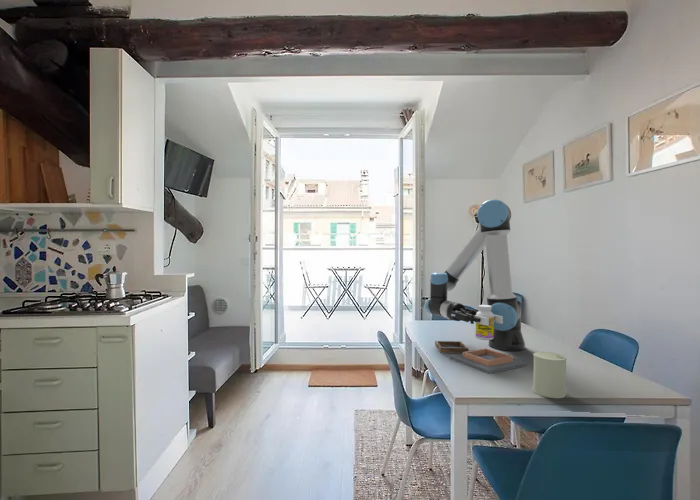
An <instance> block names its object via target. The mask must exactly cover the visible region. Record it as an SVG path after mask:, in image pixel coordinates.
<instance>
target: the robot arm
mask: <svg viewBox="0 0 700 500" xmlns="http://www.w3.org/2000/svg"><path fill="white" fill-rule="evenodd" d="M476 216H477V220H478V222H479V223H478V228H477V229H476V230H475V232H474V233H473V235H471V237H470V239H469V240H468V241H467V242H466V244H465V245H464V246H463V247H462V249H461V250H460V252H459V253H458V254H457V256H455V257H454V259H453V260H452V262H451V263H450V265H448V267H447V268H446V269H445V271H444V272H432V273H431V274H430V285H429V286H430V288H429V289H430V290H429V291H430V295H429V298H428V299H426V302H425V304H424V307H425V310H426V312H427V313H428V314H431V315H433V316H438V317H441V318H445V319H447V320H452V321H456V322H461V321H463V322H466V323H470V324H471V325H474V324H476V323H479V324H483V325H487V326H488V325H489V318H486V317H482V316H477V315H476V313H477V312H478V311H479V309H476V308H474V309H470V308H468V307H467V308H466V307H465V306H464V304H463V303H460V302H455V301H450V300H448V292H450V291H452V290H453V289H454V288H455V287H456V286H457V283H458V281H460V279H461V278H462V276H463V275H464V274H465V273H466V272H467V270H468V269H469V268H470V266H471V265H472V264H473V263H474V261H475V260H476V259H477V258H478V257H479V255H480V254H481V252H482V251H484V249H485V248H486V251H485V253H486V263H487V273H488V274H487V275H488V285H489V294H488V295H487V297H486V305H490V306H492V309H491V312H492V313H493V314H494V338H493V339H492V340H488V346H490V347H491V348H493V349H496V350H497V349H498V350H501V351H510V352H519V351H523V350H525V349H526V342H525V339H524V336H523V332H522V304H523V302H522V298H521V296H519V295H517V294H516V295H515V294H514V293H513V288H512V276H511V266H510V257H509V256H510V255H509V245H508V234H509V233H510V232H511V224H510V221H511V219H512V212H511V208H510V207H509V206H508V205H507V204H506V203H505V202H504V201H503V200H500V199H488V200H486V201H484V202H483V203H481V204H480V206H479V207H478V210H477V215H476Z"/></svg>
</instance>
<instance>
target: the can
mask: <svg viewBox="0 0 700 500" xmlns="http://www.w3.org/2000/svg"><path fill="white" fill-rule="evenodd" d="M566 375H567V357H566V356H565V355H564V354H560V353H556V352H552V351H536V352H534V353H533V382H532V385H533V386H532V391H533V392H534V393H535V394H536V395H539V396H541V397H545V398H549V399H550V398H551V399H564V398H565V397H566V395H567V393H566V379H567V377H566Z"/></svg>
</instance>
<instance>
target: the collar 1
mask: <svg viewBox="0 0 700 500" xmlns="http://www.w3.org/2000/svg"><path fill="white" fill-rule="evenodd" d="M434 341H435V342H434V345H435V347H436V349H437V350H438V351H439V353H441V354H442V353H443V354H463V352H466V351H469V348H468V347H467V346H466V344H464V343H463V341H459V340H457V341H454V340H453V341H451V340H434Z"/></svg>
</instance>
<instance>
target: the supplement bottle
mask: <svg viewBox="0 0 700 500" xmlns="http://www.w3.org/2000/svg"><path fill="white" fill-rule="evenodd" d="M491 309H492V306H490V305H487V304H479V305H478V310H479V311H478V312H477V313H476V315H477V316H482V317H486V318H489V325H488V326H487V325H483V324H479V323H475V338H476V339H477V340H481V341H489V340H492V339H493V338H494V314H493V313H492V312H491Z"/></svg>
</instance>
